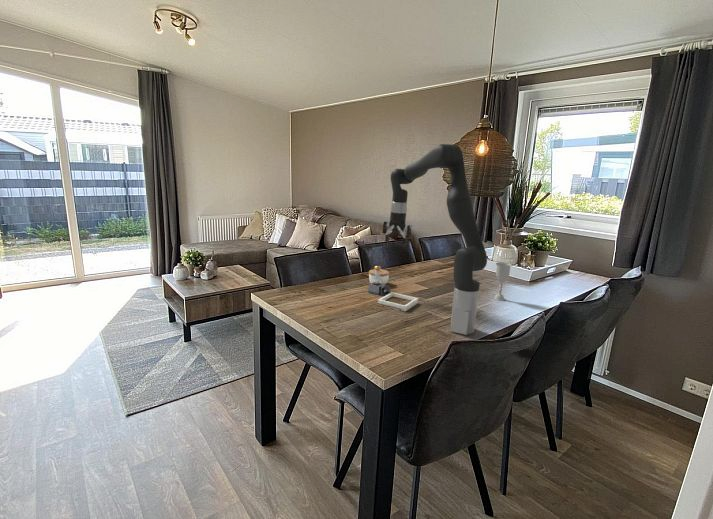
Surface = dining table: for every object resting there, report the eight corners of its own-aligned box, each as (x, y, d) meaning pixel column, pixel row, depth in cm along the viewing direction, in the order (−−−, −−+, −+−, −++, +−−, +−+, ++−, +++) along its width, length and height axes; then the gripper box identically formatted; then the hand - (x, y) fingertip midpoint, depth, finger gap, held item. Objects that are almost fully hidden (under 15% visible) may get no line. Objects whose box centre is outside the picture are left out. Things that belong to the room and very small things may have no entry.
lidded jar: (366, 287, 200) (367, 270, 198) (370, 281, 210) (371, 265, 208) (386, 289, 198) (387, 272, 196) (389, 283, 208) (390, 267, 206)
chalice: (506, 297, 191) (511, 263, 187) (507, 302, 185) (512, 266, 181) (491, 296, 193) (495, 261, 189) (491, 300, 187) (496, 265, 183)
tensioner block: (386, 299, 182) (386, 289, 181) (364, 294, 188) (365, 284, 187) (394, 294, 190) (395, 285, 189) (373, 289, 196) (374, 280, 195)
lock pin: (377, 293, 188) (378, 267, 185) (372, 291, 189) (373, 266, 186) (380, 291, 190) (382, 266, 187) (375, 290, 192) (376, 265, 189)
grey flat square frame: (405, 311, 167) (405, 306, 167) (377, 305, 174) (377, 299, 174) (417, 303, 179) (418, 298, 178) (391, 297, 186) (391, 292, 185)
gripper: (381, 210, 182) (379, 242, 187) (409, 214, 176) (406, 247, 180) (388, 208, 189) (385, 240, 193) (415, 212, 182) (411, 245, 187)
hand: (395, 243), depth 187 cm, fingers open, 8 cm apart
